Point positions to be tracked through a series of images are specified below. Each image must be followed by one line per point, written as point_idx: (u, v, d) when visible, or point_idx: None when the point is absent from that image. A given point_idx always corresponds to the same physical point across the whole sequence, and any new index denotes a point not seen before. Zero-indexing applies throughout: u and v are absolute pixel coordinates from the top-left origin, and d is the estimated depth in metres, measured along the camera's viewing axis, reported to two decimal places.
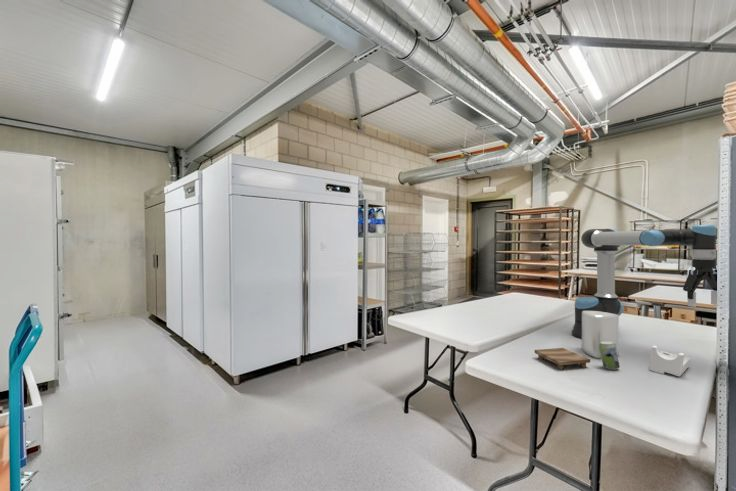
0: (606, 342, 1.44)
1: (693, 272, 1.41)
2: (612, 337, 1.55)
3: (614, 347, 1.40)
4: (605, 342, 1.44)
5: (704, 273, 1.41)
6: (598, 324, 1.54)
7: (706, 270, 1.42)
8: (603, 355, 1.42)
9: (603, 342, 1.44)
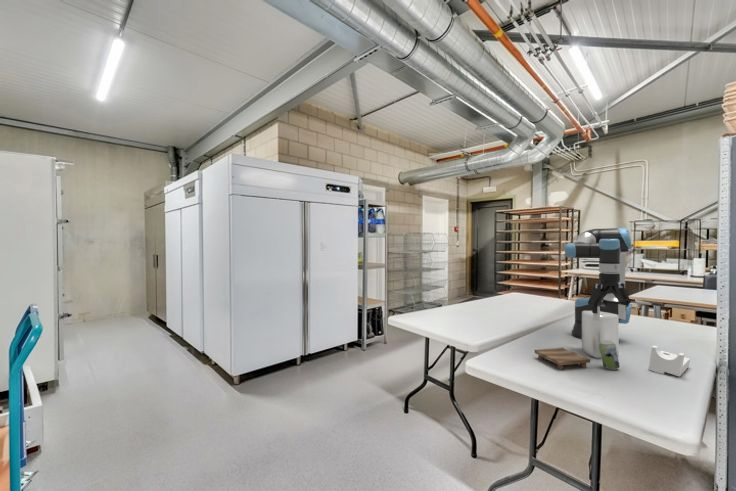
0: (606, 342, 1.44)
1: (597, 286, 1.41)
2: (612, 337, 1.55)
3: (614, 347, 1.40)
4: (605, 342, 1.44)
5: (608, 287, 1.41)
6: (598, 324, 1.54)
7: (611, 284, 1.41)
8: (603, 355, 1.42)
9: (603, 342, 1.44)
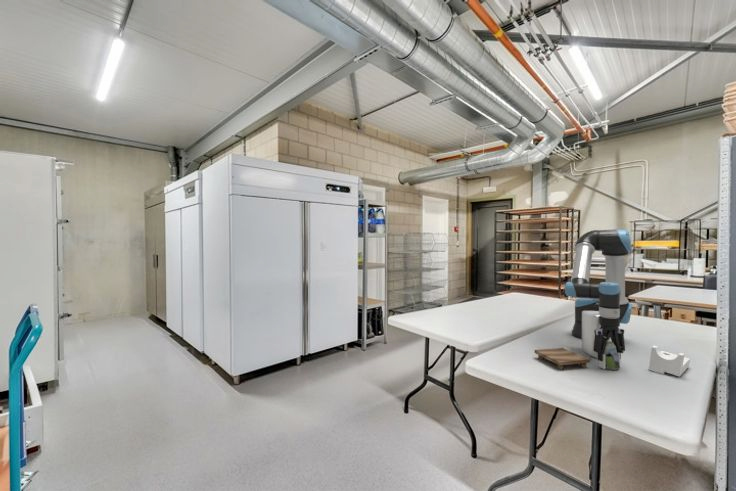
0: None
1: (598, 333, 1.41)
2: None
3: (614, 347, 1.40)
4: None
5: (608, 332, 1.41)
6: (598, 324, 1.54)
7: (611, 328, 1.42)
8: None
9: None
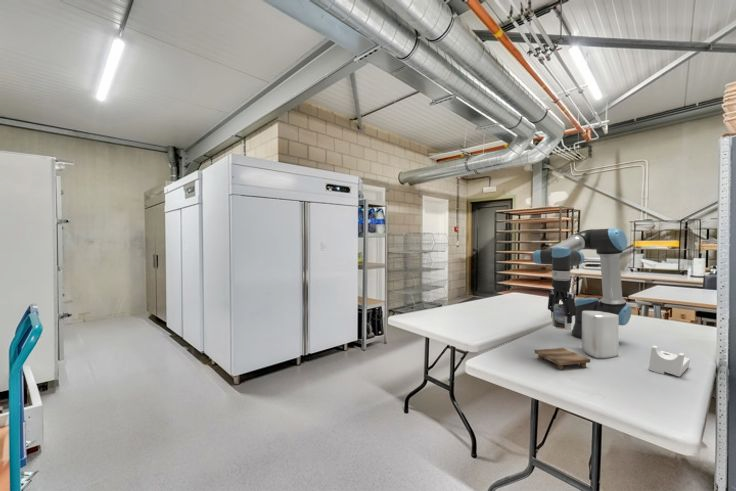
0: None
1: None
2: (612, 337, 1.55)
3: (556, 307, 1.49)
4: None
5: None
6: (598, 324, 1.54)
7: (558, 290, 1.49)
8: None
9: None
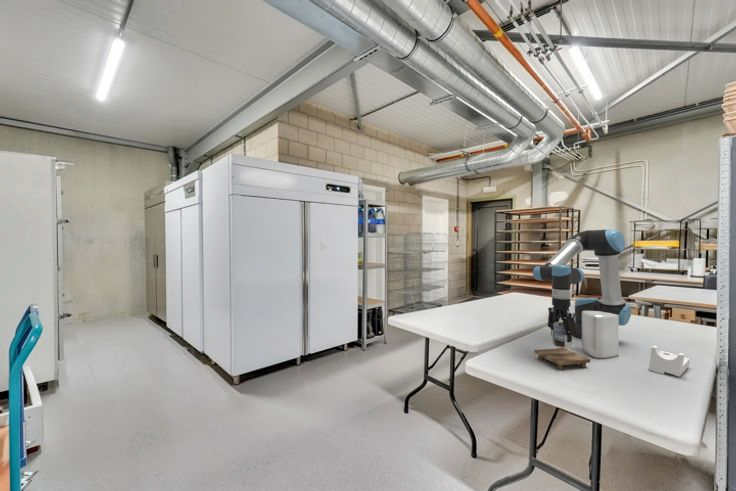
0: (561, 322, 1.50)
1: None
2: (612, 337, 1.55)
3: (556, 325, 1.49)
4: (561, 322, 1.51)
5: None
6: (598, 324, 1.54)
7: (558, 308, 1.50)
8: None
9: (561, 322, 1.51)
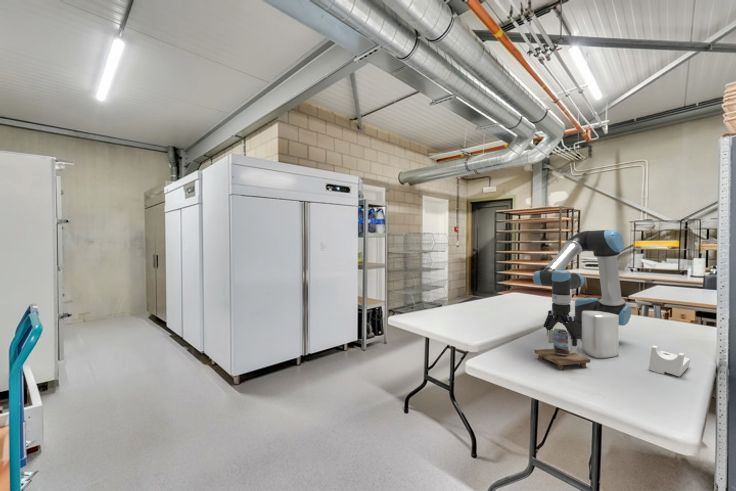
0: (561, 329, 1.51)
1: None
2: (612, 337, 1.55)
3: (555, 332, 1.50)
4: (560, 329, 1.51)
5: None
6: (598, 324, 1.54)
7: (558, 313, 1.50)
8: None
9: (560, 329, 1.52)
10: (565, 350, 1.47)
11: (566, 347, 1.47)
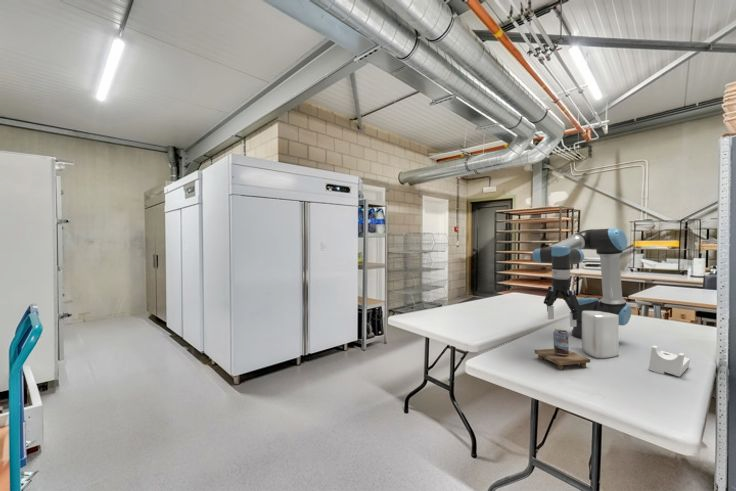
0: (561, 329, 1.51)
1: None
2: (612, 337, 1.55)
3: (556, 333, 1.49)
4: (561, 329, 1.51)
5: None
6: (598, 324, 1.54)
7: (558, 289, 1.50)
8: None
9: (561, 329, 1.52)
10: (566, 350, 1.47)
11: (566, 347, 1.47)
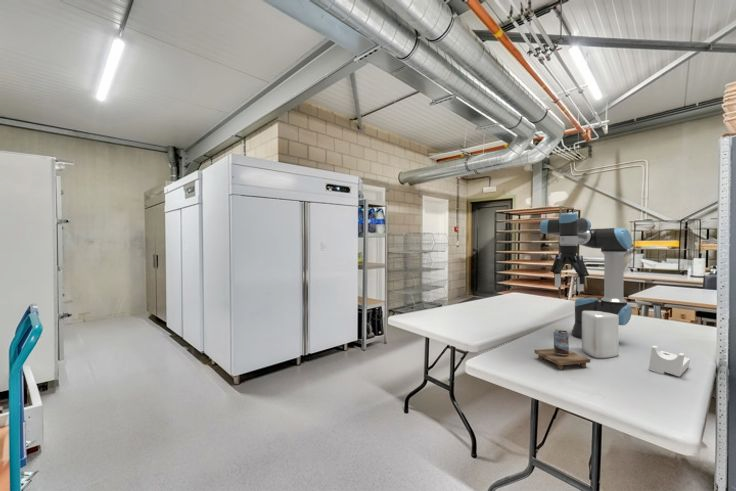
0: (561, 329, 1.50)
1: None
2: (612, 337, 1.55)
3: (556, 333, 1.49)
4: (561, 329, 1.51)
5: None
6: (598, 324, 1.54)
7: (566, 255, 1.52)
8: None
9: (561, 329, 1.52)
10: (566, 350, 1.47)
11: (566, 347, 1.47)
